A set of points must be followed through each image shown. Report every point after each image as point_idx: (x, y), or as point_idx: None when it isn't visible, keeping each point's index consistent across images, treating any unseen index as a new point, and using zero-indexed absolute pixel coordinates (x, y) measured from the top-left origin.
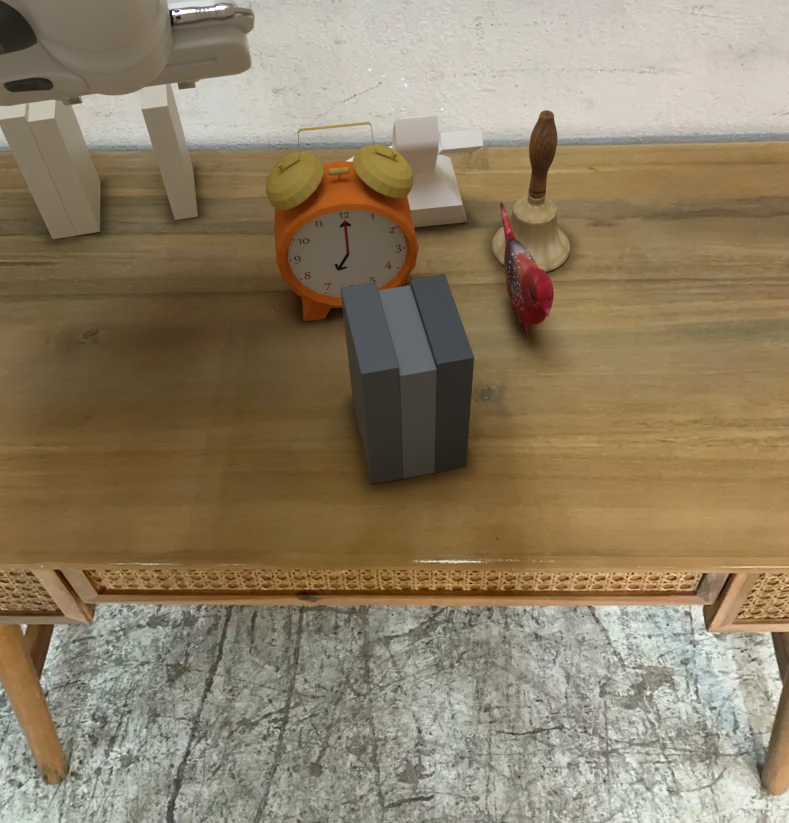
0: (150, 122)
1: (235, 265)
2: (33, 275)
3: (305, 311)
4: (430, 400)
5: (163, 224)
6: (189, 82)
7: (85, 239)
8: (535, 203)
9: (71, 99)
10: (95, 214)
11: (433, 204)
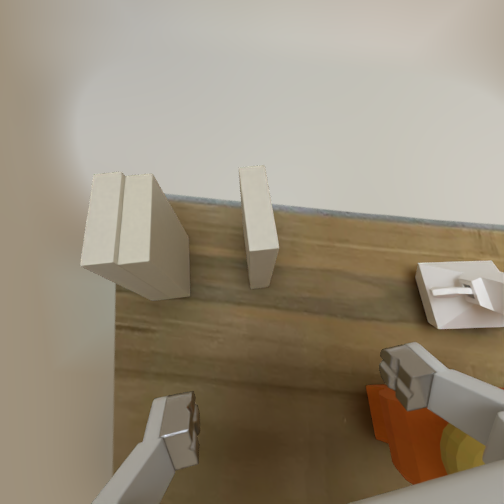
0: (254, 257)
1: (305, 352)
2: (136, 344)
3: (379, 433)
4: None
5: (241, 292)
6: (436, 413)
7: (178, 303)
8: None
9: (180, 468)
10: (187, 286)
11: (494, 324)
